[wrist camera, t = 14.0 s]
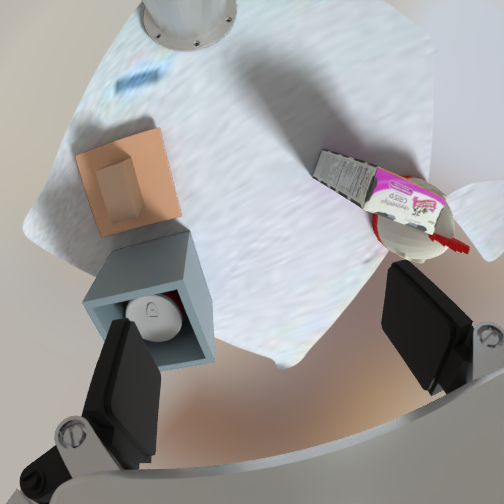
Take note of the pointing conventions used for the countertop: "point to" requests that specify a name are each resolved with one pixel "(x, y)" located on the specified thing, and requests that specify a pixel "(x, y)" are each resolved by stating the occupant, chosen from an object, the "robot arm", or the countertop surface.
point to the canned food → (157, 315)
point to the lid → (129, 183)
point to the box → (154, 282)
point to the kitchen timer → (419, 233)
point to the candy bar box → (380, 191)
